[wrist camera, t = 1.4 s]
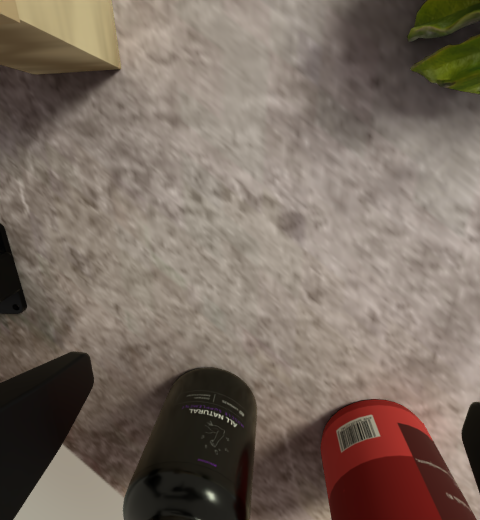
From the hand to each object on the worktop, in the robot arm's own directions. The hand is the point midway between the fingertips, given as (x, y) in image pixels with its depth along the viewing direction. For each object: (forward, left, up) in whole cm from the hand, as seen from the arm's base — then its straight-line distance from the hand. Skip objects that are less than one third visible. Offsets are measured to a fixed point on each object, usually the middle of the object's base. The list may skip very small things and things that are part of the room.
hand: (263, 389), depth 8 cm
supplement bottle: (-4, -13, -14) cm, 19 cm away
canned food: (+8, -16, -14) cm, 22 cm away
